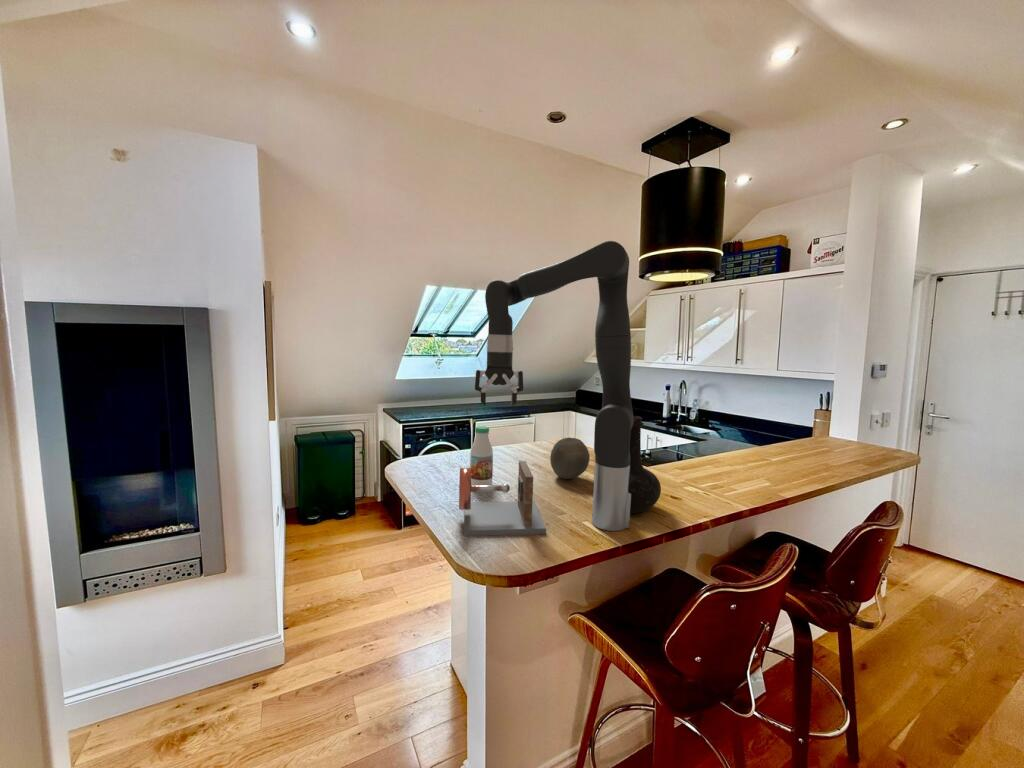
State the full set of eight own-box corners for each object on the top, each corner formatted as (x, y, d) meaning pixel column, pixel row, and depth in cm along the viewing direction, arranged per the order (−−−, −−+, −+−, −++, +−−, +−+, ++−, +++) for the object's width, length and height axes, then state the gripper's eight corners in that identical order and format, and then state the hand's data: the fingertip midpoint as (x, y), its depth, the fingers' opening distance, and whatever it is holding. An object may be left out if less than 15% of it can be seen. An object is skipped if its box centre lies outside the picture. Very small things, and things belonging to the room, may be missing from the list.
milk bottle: (465, 484, 141) (466, 426, 139) (482, 479, 147) (483, 423, 145) (479, 490, 136) (480, 430, 134) (496, 485, 141) (498, 427, 139)
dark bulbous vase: (617, 522, 115) (622, 423, 112) (588, 498, 132) (592, 411, 129) (672, 517, 119) (679, 421, 116) (637, 494, 136) (643, 410, 133)
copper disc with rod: (507, 499, 120) (508, 462, 118) (511, 515, 109) (512, 475, 107) (459, 500, 118) (460, 462, 117) (458, 516, 107) (459, 475, 106)
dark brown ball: (545, 482, 145) (547, 440, 144) (553, 470, 159) (555, 432, 157) (586, 487, 141) (588, 445, 140) (590, 475, 155) (592, 436, 153)
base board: (534, 506, 124) (534, 501, 124) (546, 534, 107) (546, 528, 106) (464, 507, 122) (464, 502, 122) (464, 535, 104) (464, 530, 104)
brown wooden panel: (524, 504, 122) (525, 461, 120) (531, 525, 108) (533, 477, 107) (515, 504, 122) (516, 461, 120) (521, 525, 108) (523, 477, 106)
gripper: (522, 350, 126) (520, 403, 127) (475, 349, 124) (474, 403, 126) (525, 351, 118) (523, 407, 120) (475, 350, 117) (474, 407, 118)
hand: (498, 405), depth 123 cm, fingers open, 8 cm apart
